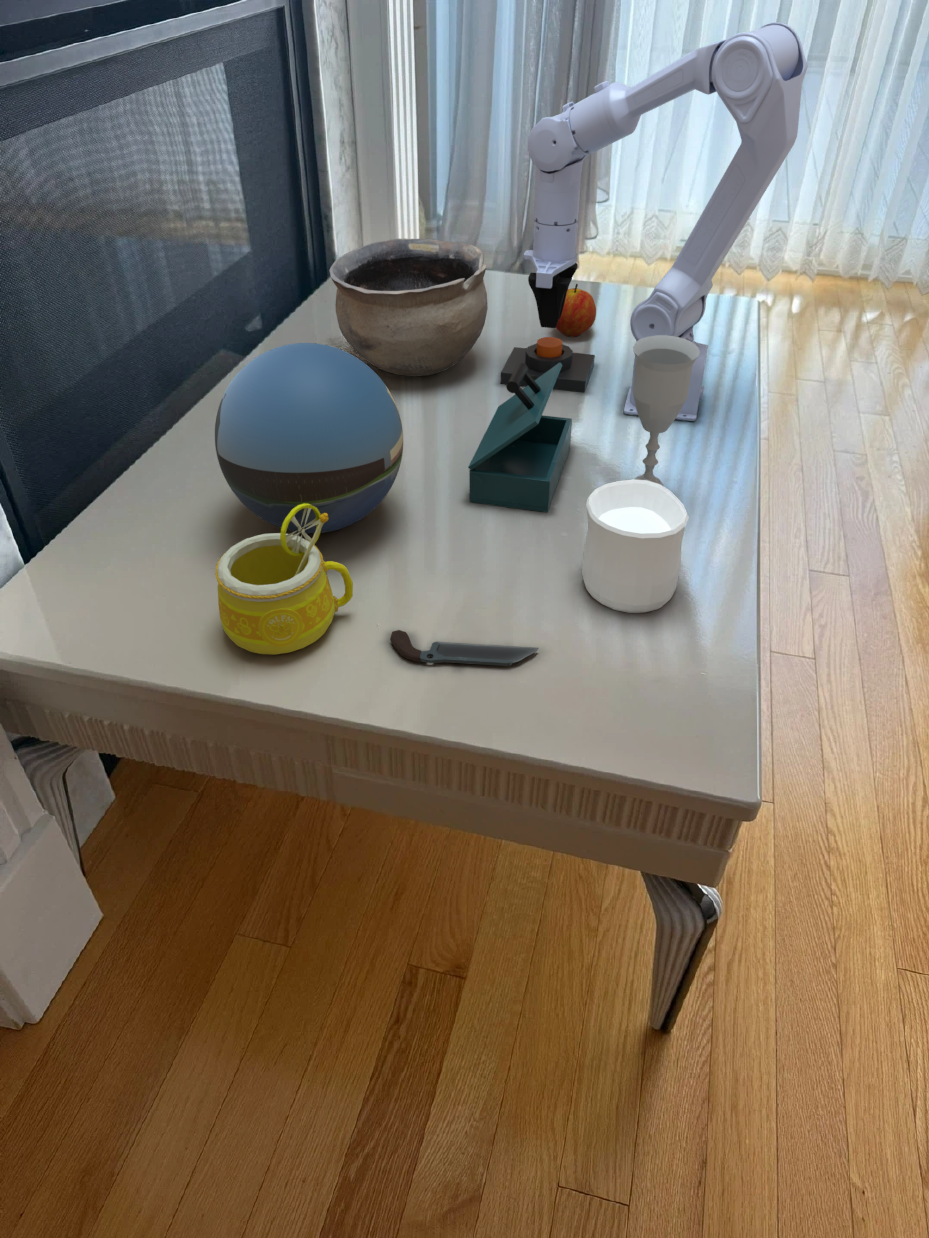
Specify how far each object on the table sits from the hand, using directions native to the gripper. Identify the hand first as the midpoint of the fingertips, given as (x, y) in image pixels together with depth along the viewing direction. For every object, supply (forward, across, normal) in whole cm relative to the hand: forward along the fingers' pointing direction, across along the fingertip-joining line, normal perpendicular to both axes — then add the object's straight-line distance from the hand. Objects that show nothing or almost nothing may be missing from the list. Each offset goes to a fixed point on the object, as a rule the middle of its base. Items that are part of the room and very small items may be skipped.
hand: (550, 322), depth 125 cm
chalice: (+8, +30, +17) cm, 35 cm away
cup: (+8, +47, +17) cm, 51 cm away
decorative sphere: (+8, +43, -18) cm, 47 cm away
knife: (+8, +61, +3) cm, 61 cm away
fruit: (+8, -15, +1) cm, 17 cm away
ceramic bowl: (+8, +1, -20) cm, 22 cm away
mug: (+8, +61, -14) cm, 63 cm away
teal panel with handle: (0, +28, +1) cm, 28 cm away
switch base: (+8, 0, 0) cm, 8 cm away
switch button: (+5, 0, 0) cm, 5 cm away
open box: (+8, +28, +2) cm, 29 cm away
